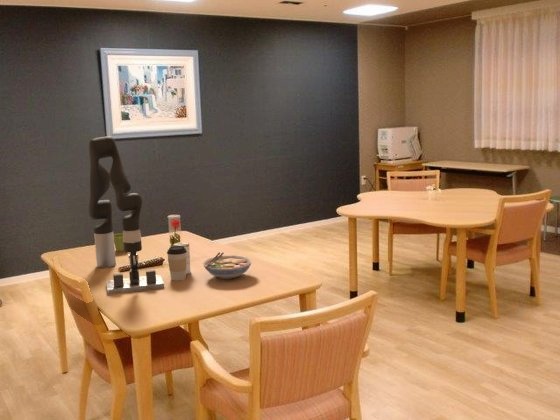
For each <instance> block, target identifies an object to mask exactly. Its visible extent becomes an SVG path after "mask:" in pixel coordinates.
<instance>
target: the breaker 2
mask: <svg viewBox="0 0 560 420" xmlns="http://www.w3.org/2000/svg"><path fill="white" fill-rule="evenodd" d="M156 275H157V272H156V269H148V270H145V276H146V281H147V283H151V282H156Z"/></svg>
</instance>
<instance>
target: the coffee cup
mask: <svg viewBox="0 0 560 420" xmlns="http://www.w3.org/2000/svg"><path fill="white" fill-rule="evenodd" d="M186 252H187V251H186V249H185V248H184V246H173V245H172V246H170V247H169V248H168V249H167V252H166V254H167V263H168V268H169V269H168V270H169V274H170V280H171V281H183V280H186V279H187V274H186V260H187V257H186Z"/></svg>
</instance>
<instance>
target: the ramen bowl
mask: <svg viewBox="0 0 560 420" xmlns="http://www.w3.org/2000/svg"><path fill="white" fill-rule="evenodd" d="M252 263H253V259H252V258H250V257H249V256H244V255H238V254H237V255H235V254H233V255H232V254H230V255H227V254H226V255H224V252H217V254H216V255H215V256H213V257H209V258H207V259H205V260H203V262H202V264H203V267H204V268H205V270H206V271H207V272H208V273H209V274H210V275H212V276H213V277H217V278H220V279H221V280H232V279H231V278H233V279H235V278H237V277H239V276H242V275H244V274H245V273H246V272H247V271H248V270H249V268H250V267H251V265H252Z"/></svg>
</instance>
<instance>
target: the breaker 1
mask: <svg viewBox="0 0 560 420" xmlns="http://www.w3.org/2000/svg"><path fill="white" fill-rule="evenodd" d="M123 274H124V273H122V272H120V273H114V274H112V278H113V279H112V280H114V287H117V286H124V283H123V279H124V275H123Z"/></svg>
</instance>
